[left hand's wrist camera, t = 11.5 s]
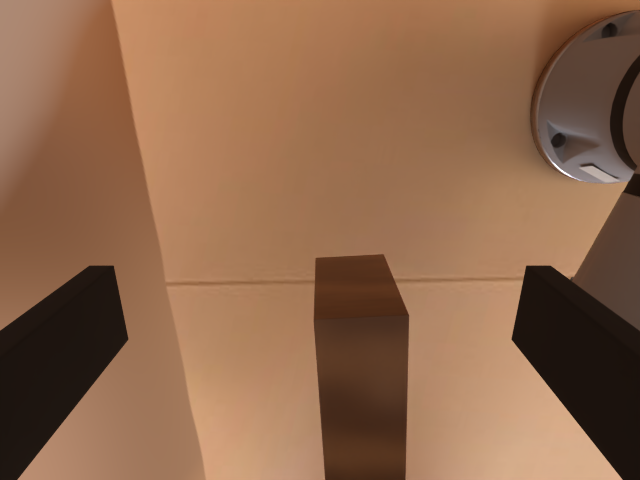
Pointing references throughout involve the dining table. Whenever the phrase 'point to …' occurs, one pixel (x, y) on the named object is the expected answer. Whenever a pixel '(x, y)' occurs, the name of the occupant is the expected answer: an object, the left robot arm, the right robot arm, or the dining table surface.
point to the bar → (361, 368)
